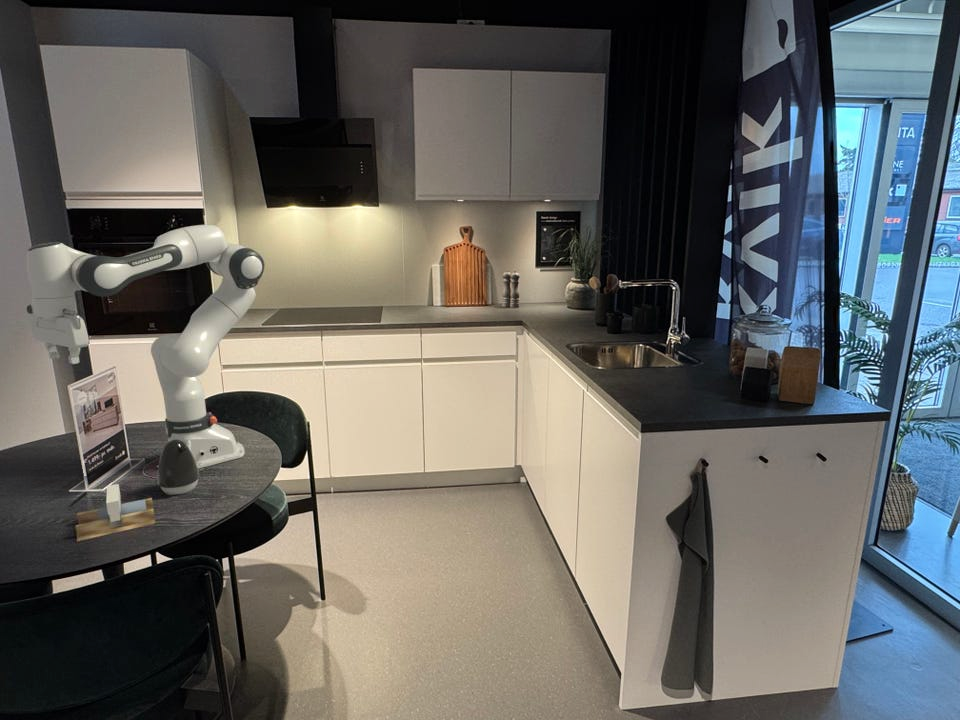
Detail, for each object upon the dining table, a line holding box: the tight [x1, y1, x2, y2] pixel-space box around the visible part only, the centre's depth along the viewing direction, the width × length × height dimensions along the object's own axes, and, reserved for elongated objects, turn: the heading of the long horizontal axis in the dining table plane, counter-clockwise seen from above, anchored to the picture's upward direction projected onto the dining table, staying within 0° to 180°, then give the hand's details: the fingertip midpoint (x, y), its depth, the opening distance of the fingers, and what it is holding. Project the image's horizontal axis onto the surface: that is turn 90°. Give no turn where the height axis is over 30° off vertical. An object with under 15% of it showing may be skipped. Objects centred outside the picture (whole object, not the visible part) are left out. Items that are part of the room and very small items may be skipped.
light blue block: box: [97, 498, 147, 520], centre depth 145 cm, size 10×4×4 cm, turn 121°
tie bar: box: [105, 483, 121, 522], centre depth 143 cm, size 2×10×5 cm, turn 31°
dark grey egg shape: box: [157, 440, 200, 496], centre depth 160 cm, size 10×10×15 cm
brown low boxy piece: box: [75, 497, 156, 542], centre depth 142 cm, size 24×12×6 cm, turn 121°
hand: (64, 361), depth 151 cm, fingers open, 8 cm apart
